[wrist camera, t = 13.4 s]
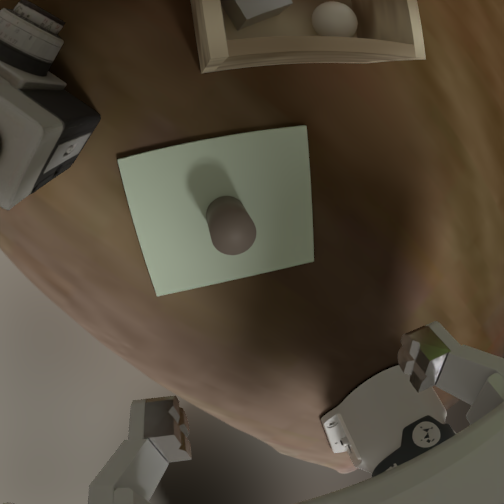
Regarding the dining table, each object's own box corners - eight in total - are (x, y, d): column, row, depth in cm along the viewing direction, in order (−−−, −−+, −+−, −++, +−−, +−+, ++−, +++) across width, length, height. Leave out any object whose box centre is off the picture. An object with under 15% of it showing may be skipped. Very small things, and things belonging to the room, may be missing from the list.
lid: (309, 255, 27) (331, 284, 23) (157, 289, 25) (155, 324, 21) (301, 124, 21) (328, 131, 17) (120, 157, 20) (106, 171, 16)
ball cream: (346, 45, 18) (369, 40, 15) (307, 44, 17) (326, 37, 15) (340, 8, 16) (362, -1, 14) (301, 6, 16) (319, -6, 13)
